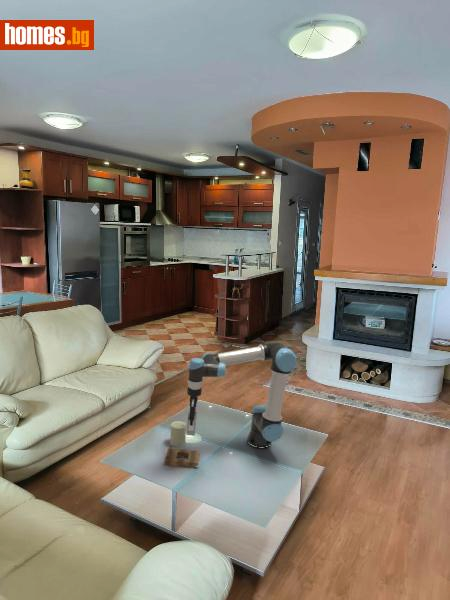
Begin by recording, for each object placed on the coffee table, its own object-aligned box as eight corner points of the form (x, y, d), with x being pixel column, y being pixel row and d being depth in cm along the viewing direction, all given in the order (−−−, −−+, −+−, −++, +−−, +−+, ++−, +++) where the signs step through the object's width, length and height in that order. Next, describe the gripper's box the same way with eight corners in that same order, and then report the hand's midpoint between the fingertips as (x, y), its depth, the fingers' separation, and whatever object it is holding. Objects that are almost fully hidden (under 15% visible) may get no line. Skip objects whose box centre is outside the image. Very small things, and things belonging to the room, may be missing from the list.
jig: (199, 455, 230) (200, 447, 230) (197, 468, 219) (198, 459, 218) (167, 453, 231) (168, 445, 230) (164, 465, 219) (164, 456, 218)
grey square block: (195, 431, 224) (196, 412, 222) (194, 435, 220) (196, 416, 218) (187, 430, 224) (188, 412, 222) (186, 434, 220) (187, 415, 218)
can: (182, 448, 237) (183, 428, 235) (167, 445, 239) (168, 426, 237) (187, 440, 246) (188, 421, 244) (172, 437, 248) (173, 419, 246)
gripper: (189, 380, 226) (186, 419, 230) (185, 393, 209) (182, 435, 213) (202, 381, 226) (199, 420, 230) (200, 394, 209) (196, 436, 213)
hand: (191, 427), depth 222 cm, fingers closed on grey square block, 4 cm apart
